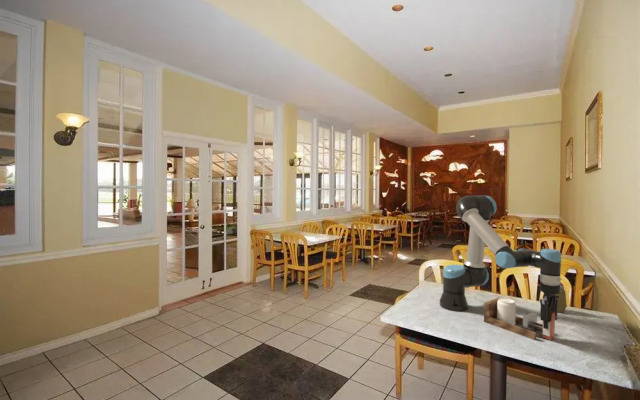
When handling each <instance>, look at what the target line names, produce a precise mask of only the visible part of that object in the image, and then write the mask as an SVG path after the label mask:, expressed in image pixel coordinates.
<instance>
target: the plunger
mask: <svg viewBox="0 0 640 400" xmlns="http://www.w3.org/2000/svg"><path fill="white" fill-rule="evenodd" d="M522 318H523V325H522V328H524V329H527V330H530V331H533V332H535V331H539V330H542V331H541V332H542V333H541V336H542V338H543V339H546V340H549V341H553V340H554V339H555V327H556V325H555V324H556V320H555V318H556V317H555V312H552V311H551V312H550V321H549V322H551V323H550V336H546V335H543V327H541V326H537V323H538V313H536V312H534V311H533V312H529V313H527V314H526V315H523V316H522ZM537 329H539V330H537Z"/></svg>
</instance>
